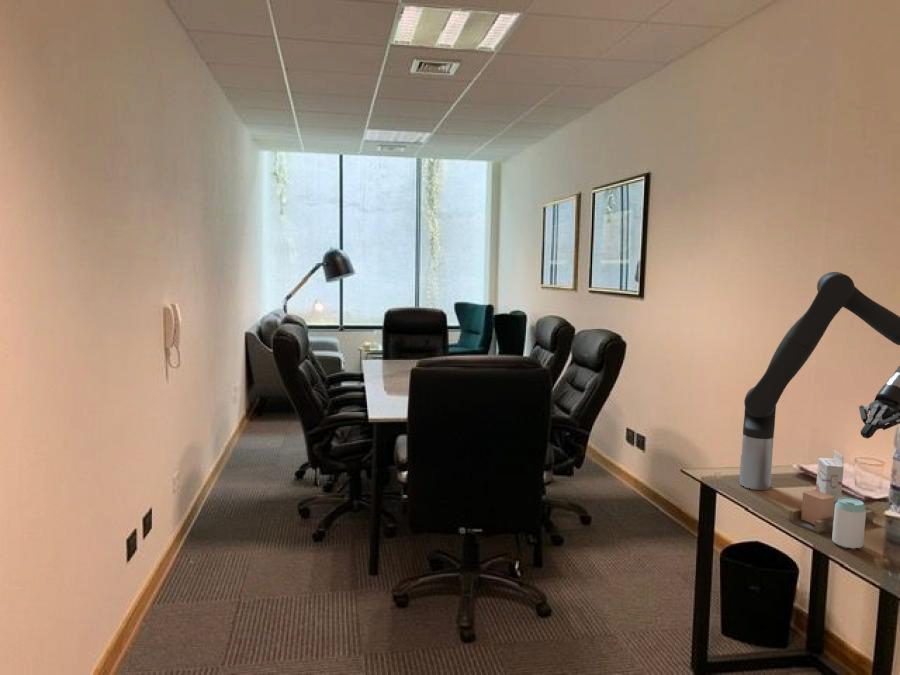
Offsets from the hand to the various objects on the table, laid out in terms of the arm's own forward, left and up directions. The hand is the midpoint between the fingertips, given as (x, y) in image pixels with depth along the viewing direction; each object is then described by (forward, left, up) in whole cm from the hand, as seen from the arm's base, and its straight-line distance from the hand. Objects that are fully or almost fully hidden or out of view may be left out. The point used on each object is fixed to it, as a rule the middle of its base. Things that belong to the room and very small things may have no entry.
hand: (864, 436), depth 190 cm
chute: (+4, -10, -24) cm, 27 cm away
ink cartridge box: (-15, +1, -24) cm, 29 cm away
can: (+19, -15, -24) cm, 34 cm away
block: (+6, -16, -24) cm, 29 cm away
